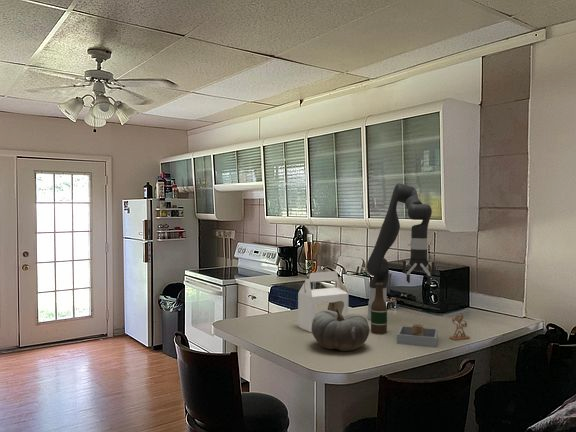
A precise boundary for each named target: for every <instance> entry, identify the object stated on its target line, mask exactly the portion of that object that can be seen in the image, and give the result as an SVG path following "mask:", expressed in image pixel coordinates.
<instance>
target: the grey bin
mask: <svg viewBox="0 0 576 432" xmlns="http://www.w3.org/2000/svg"><path fill="white" fill-rule="evenodd" d="M438 331H439V329H438V328H429V327H428V328H427V327H423V336H413V335H412V326H406V325H401V326H400V328H399V330H398V333H397V334H396V335H397V336H396V339H397V340H396V344H399V345H400V344H401V345H409V346H420V347H431V348H437V342H438V338H439V337H438Z"/></svg>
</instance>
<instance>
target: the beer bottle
mask: <svg viewBox="0 0 576 432" xmlns="http://www.w3.org/2000/svg"><path fill="white" fill-rule="evenodd" d="M387 329H388V306H387V302H386V303H385V301H384V299H383V283H376V293H375V300H374V301H373V302H372V305H371V319H370V331H371V333H372V334H375V335H385V334H387V332H388V330H387Z"/></svg>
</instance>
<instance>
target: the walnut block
mask: <svg viewBox="0 0 576 432" xmlns="http://www.w3.org/2000/svg"><path fill="white" fill-rule="evenodd" d="M411 327H412V335H413V336H423V328H424V324H421V323H412V326H411Z"/></svg>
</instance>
